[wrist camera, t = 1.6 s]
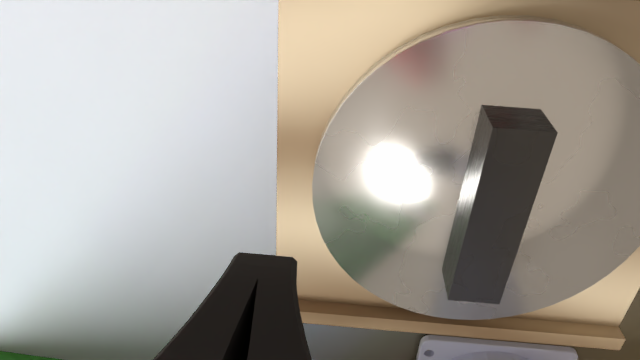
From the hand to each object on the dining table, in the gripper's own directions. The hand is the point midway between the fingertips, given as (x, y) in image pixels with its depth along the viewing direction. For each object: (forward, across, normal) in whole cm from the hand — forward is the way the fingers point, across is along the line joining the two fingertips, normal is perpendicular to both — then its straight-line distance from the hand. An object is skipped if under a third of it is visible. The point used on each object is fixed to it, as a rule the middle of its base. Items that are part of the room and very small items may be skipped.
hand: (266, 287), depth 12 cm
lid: (+5, -6, 0) cm, 8 cm away
